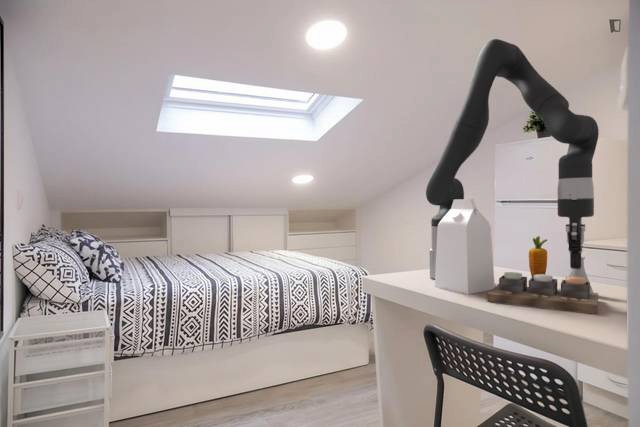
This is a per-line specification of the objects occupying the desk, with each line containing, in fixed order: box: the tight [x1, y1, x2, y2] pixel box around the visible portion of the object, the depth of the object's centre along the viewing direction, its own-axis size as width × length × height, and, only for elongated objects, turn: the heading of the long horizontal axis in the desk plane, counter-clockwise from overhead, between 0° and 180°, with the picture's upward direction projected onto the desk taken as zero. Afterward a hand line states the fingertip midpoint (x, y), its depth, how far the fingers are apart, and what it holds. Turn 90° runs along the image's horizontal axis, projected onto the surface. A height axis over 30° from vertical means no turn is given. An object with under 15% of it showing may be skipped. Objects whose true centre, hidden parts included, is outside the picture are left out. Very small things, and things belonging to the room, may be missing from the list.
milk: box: [434, 198, 496, 295], centre depth 120 cm, size 12×12×26 cm
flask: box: [568, 255, 595, 293], centre depth 110 cm, size 7×7×10 cm
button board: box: [486, 274, 599, 315], centre depth 103 cm, size 23×14×5 cm, turn 55°
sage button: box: [503, 271, 523, 280], centre depth 108 cm, size 4×4×2 cm
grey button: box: [534, 274, 554, 283], centre depth 104 cm, size 4×4×2 cm
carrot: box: [528, 235, 548, 278], centre depth 119 cm, size 5×5×15 cm
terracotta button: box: [565, 276, 586, 285], centre depth 100 cm, size 4×4×2 cm
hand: (575, 268), depth 100 cm, fingers closed
